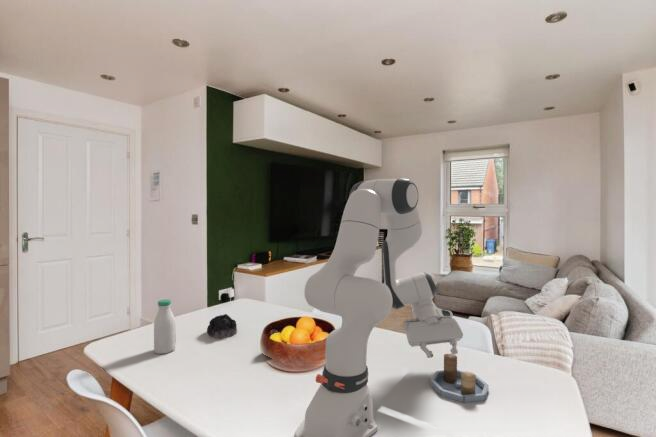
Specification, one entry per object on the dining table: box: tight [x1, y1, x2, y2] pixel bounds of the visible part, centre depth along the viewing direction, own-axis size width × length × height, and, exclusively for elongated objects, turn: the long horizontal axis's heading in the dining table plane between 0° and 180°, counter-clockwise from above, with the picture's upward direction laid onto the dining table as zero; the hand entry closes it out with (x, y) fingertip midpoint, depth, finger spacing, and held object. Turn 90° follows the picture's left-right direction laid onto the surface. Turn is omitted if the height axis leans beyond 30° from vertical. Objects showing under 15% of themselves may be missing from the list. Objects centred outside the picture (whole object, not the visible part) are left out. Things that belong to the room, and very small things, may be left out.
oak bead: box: [461, 371, 477, 395], centre depth 103 cm, size 4×4×6 cm
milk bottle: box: [153, 299, 177, 355], centre depth 136 cm, size 8×8×20 cm
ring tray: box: [429, 369, 489, 403], centre depth 107 cm, size 16×16×3 cm
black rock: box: [206, 313, 238, 339], centre depth 155 cm, size 13×14×10 cm
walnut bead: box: [443, 353, 458, 384], centre depth 111 cm, size 4×4×8 cm
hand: (443, 355), depth 116 cm, fingers open, 8 cm apart
